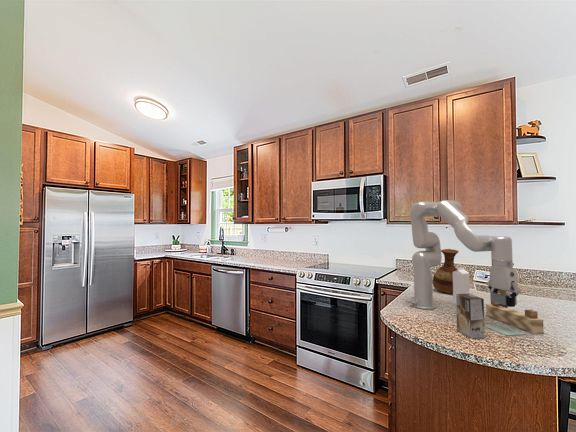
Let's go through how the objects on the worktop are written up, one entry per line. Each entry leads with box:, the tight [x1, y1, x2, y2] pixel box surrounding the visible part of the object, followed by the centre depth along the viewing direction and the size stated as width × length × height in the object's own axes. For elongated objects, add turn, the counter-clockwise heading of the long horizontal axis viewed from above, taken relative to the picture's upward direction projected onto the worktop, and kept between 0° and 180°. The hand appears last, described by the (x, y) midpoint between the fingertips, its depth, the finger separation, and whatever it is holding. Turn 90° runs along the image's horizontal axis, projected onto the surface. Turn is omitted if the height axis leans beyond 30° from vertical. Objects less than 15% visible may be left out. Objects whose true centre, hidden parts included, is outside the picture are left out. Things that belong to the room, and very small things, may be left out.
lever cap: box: [489, 292, 517, 306], centre depth 125 cm, size 6×7×4 cm
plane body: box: [485, 302, 545, 335], centre depth 132 cm, size 24×5×9 cm, turn 8°
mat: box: [484, 323, 526, 337], centre depth 124 cm, size 9×12×1 cm
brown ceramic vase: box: [432, 248, 459, 295], centre depth 196 cm, size 20×20×30 cm
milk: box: [452, 266, 470, 306], centre depth 164 cm, size 6×6×22 cm
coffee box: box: [455, 294, 486, 339], centre depth 120 cm, size 9×6×16 cm
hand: (503, 303), depth 125 cm, fingers closed on lever cap, 7 cm apart
